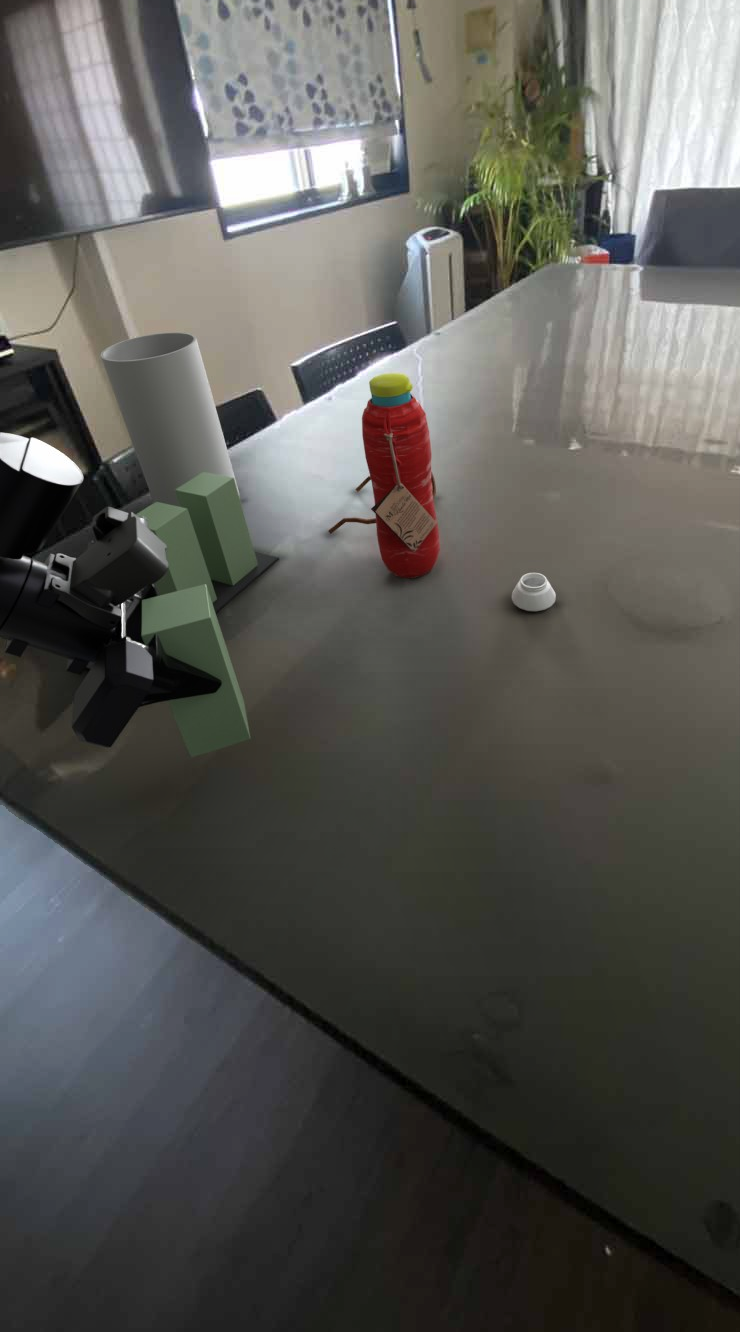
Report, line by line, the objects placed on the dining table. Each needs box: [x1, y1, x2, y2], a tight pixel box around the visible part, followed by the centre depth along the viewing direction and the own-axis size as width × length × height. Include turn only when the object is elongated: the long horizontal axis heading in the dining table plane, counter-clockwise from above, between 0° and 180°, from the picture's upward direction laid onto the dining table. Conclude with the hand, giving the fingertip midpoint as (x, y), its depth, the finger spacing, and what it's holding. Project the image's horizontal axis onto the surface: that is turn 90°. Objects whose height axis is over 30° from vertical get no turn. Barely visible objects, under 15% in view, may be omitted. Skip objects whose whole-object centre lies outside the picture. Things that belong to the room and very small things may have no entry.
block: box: [141, 584, 251, 759], centre depth 56 cm, size 5×5×13 cm
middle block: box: [135, 502, 217, 603], centre depth 81 cm, size 5×5×13 cm
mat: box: [85, 551, 280, 671], centre depth 84 cm, size 26×8×1 cm, turn 153°
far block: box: [175, 472, 258, 585], centre depth 86 cm, size 5×5×13 cm
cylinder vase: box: [100, 331, 240, 507], centre depth 99 cm, size 12×12×25 cm
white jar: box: [511, 572, 557, 612], centre depth 79 cm, size 5×3×5 cm
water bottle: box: [361, 372, 441, 579], centre depth 79 cm, size 12×8×25 cm, turn 176°
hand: (215, 666), depth 56 cm, fingers closed on block, 5 cm apart
